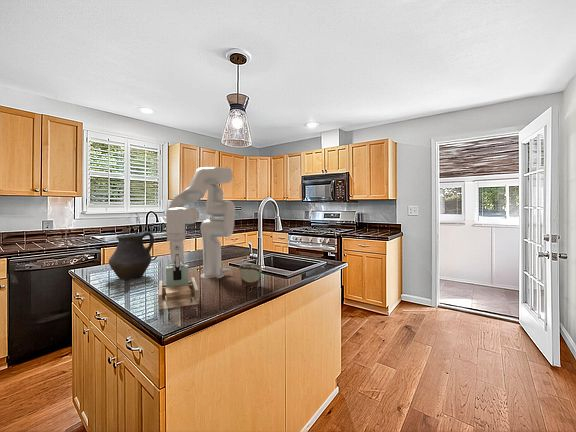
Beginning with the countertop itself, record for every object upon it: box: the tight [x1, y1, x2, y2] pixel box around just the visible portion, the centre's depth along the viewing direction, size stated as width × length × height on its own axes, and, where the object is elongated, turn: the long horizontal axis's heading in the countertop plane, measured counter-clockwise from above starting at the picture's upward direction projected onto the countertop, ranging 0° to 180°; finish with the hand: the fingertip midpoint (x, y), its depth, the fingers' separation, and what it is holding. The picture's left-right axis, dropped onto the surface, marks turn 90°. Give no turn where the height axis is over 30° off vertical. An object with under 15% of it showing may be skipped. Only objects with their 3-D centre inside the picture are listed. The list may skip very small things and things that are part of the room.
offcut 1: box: [165, 285, 191, 297], centre depth 114 cm, size 9×7×2 cm
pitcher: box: [108, 230, 155, 280], centre depth 153 cm, size 21×22×25 cm
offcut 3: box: [165, 296, 191, 306], centre depth 114 cm, size 9×7×2 cm
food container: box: [238, 263, 263, 288], centre depth 140 cm, size 12×6×10 cm, turn 65°
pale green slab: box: [165, 264, 190, 287], centre depth 123 cm, size 9×3×12 cm, turn 114°
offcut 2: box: [167, 289, 191, 301], centre depth 115 cm, size 9×7×2 cm
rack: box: [157, 276, 200, 310], centre depth 117 cm, size 14×20×7 cm
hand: (177, 278), depth 123 cm, fingers closed on pale green slab, 2 cm apart
